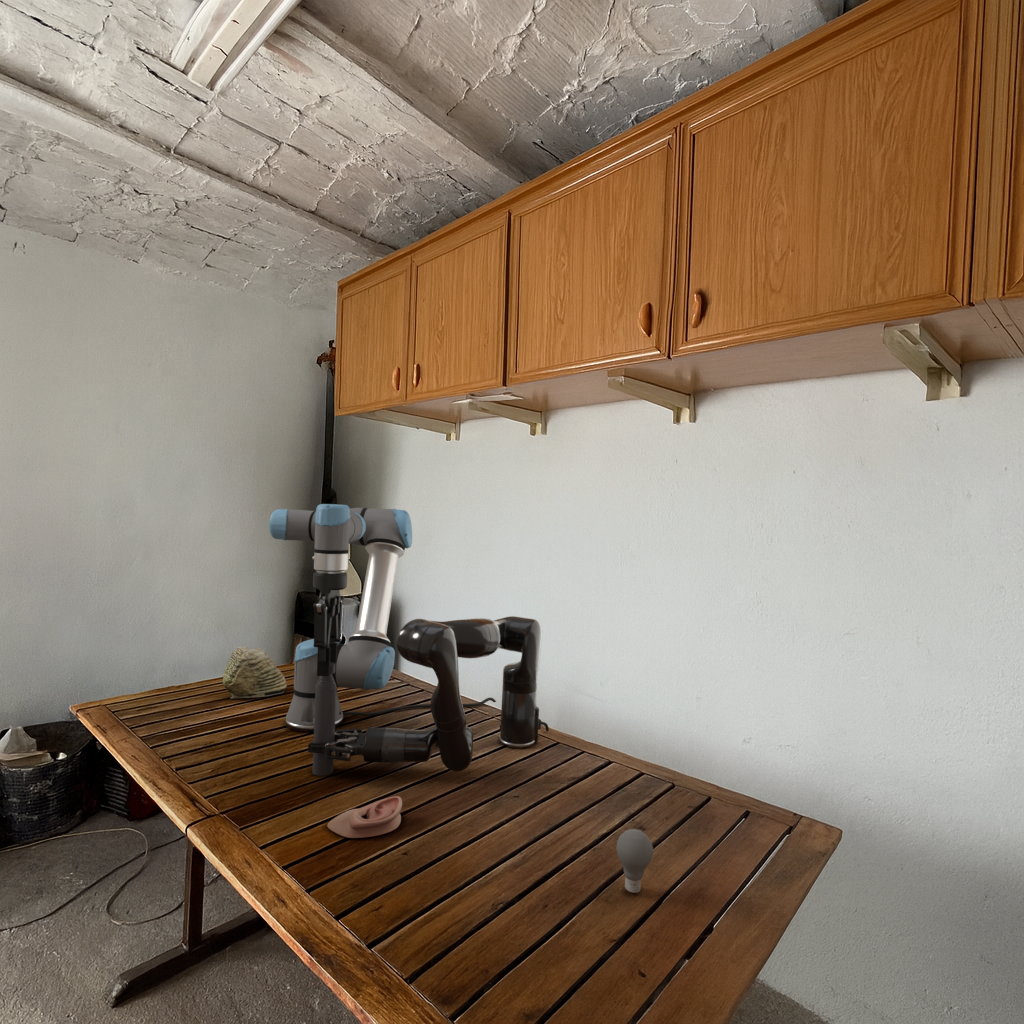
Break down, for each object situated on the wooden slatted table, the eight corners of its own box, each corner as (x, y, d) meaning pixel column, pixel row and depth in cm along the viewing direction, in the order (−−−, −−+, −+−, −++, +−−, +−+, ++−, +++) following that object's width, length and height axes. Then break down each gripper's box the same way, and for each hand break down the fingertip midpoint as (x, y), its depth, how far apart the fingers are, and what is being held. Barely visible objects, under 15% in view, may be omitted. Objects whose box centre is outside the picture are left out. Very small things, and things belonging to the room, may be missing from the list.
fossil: (218, 695, 195) (220, 647, 195) (278, 685, 208) (279, 640, 207) (228, 703, 189) (230, 653, 188) (289, 692, 201) (290, 645, 201)
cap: (336, 670, 147) (337, 662, 147) (332, 675, 144) (332, 666, 144) (321, 669, 147) (321, 661, 147) (316, 674, 144) (316, 665, 144)
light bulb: (610, 879, 108) (613, 822, 108) (644, 879, 109) (647, 822, 109) (619, 902, 102) (622, 840, 102) (655, 901, 103) (658, 840, 103)
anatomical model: (320, 812, 119) (347, 786, 130) (319, 833, 119) (347, 805, 130) (386, 822, 116) (408, 795, 127) (385, 844, 116) (408, 814, 128)
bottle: (336, 768, 148) (340, 663, 148) (329, 776, 143) (333, 668, 143) (316, 766, 148) (320, 662, 148) (309, 775, 144) (313, 667, 143)
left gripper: (327, 566, 154) (324, 662, 154) (299, 574, 137) (295, 682, 137) (358, 568, 153) (354, 664, 154) (333, 576, 136) (329, 684, 137)
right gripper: (391, 718, 153) (320, 716, 153) (381, 740, 139) (303, 738, 138) (390, 748, 154) (319, 746, 153) (380, 774, 139) (302, 772, 139)
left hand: (326, 672), depth 145 cm, fingers closed on cap, 4 cm apart
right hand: (312, 742), depth 146 cm, fingers closed on bottle, 4 cm apart
